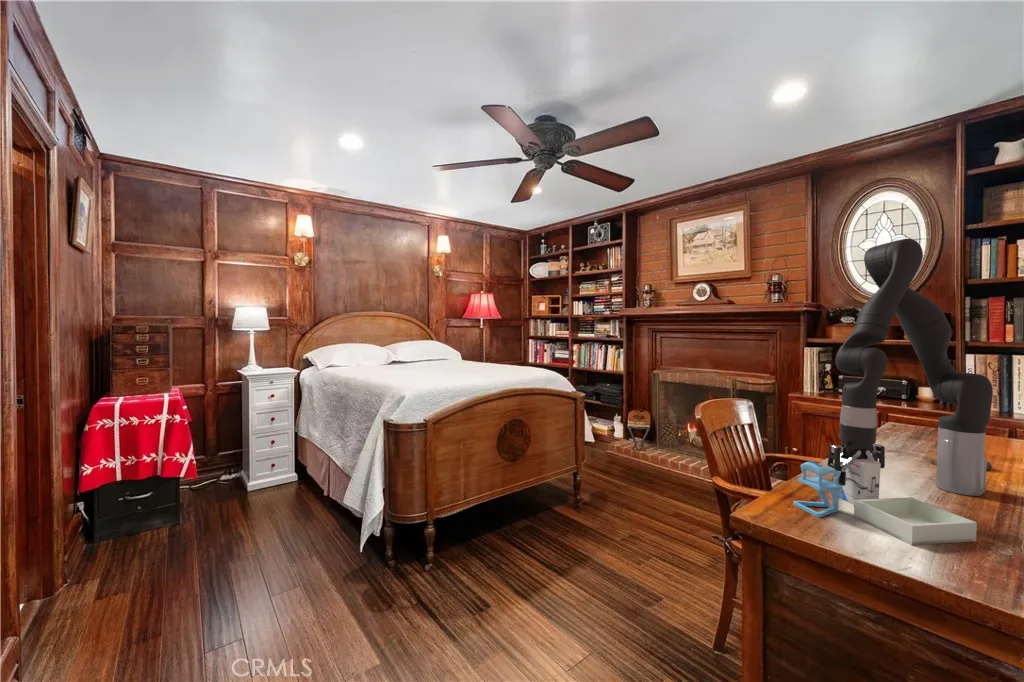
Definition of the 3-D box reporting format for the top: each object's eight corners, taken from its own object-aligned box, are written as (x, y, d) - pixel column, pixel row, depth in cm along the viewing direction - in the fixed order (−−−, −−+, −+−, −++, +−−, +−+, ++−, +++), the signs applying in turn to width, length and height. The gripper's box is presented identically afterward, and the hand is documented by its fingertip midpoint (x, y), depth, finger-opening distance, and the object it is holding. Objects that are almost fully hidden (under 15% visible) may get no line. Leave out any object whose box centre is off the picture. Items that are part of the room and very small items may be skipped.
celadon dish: (911, 513, 107) (911, 497, 107) (976, 541, 93) (976, 522, 93) (853, 516, 105) (854, 500, 105) (911, 545, 91) (912, 526, 91)
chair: (847, 515, 106) (849, 466, 105) (818, 517, 104) (819, 468, 104) (820, 502, 113) (821, 457, 113) (792, 504, 112) (793, 458, 112)
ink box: (833, 495, 118) (835, 452, 118) (850, 494, 119) (852, 452, 118) (861, 508, 110) (863, 462, 109) (880, 508, 110) (881, 462, 110)
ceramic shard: (906, 441, 154) (948, 448, 154) (905, 460, 153) (947, 466, 153) (948, 448, 139) (994, 455, 139) (947, 468, 139) (993, 475, 138)
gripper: (869, 419, 118) (866, 478, 119) (821, 420, 116) (818, 479, 117) (896, 426, 110) (893, 488, 111) (845, 427, 109) (842, 490, 110)
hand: (855, 484), depth 114 cm, fingers open, 8 cm apart
